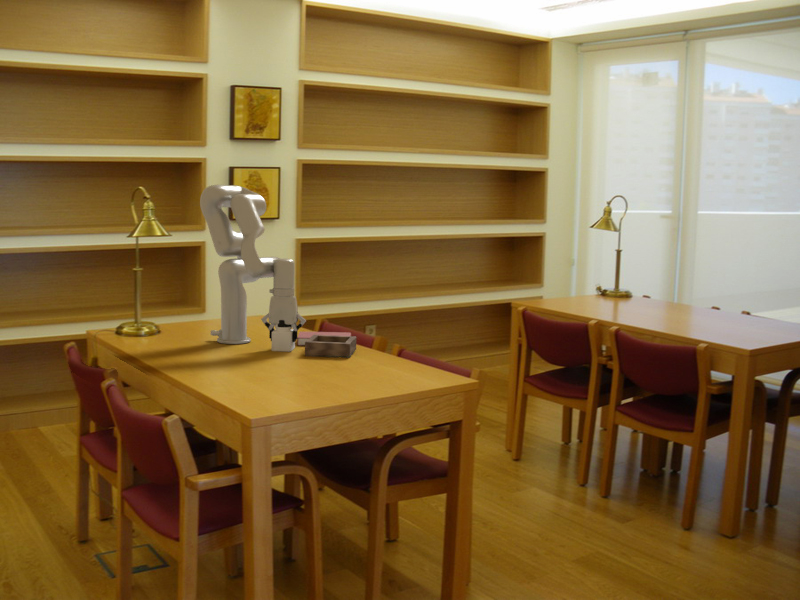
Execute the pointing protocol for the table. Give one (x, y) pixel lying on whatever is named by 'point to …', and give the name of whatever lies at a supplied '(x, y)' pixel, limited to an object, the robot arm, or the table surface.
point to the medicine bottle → (282, 337)
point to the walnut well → (330, 346)
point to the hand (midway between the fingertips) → (283, 340)
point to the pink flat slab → (306, 335)
